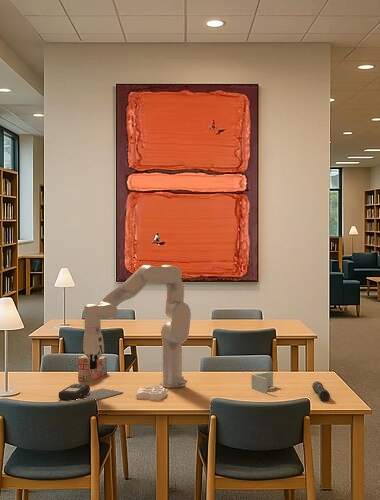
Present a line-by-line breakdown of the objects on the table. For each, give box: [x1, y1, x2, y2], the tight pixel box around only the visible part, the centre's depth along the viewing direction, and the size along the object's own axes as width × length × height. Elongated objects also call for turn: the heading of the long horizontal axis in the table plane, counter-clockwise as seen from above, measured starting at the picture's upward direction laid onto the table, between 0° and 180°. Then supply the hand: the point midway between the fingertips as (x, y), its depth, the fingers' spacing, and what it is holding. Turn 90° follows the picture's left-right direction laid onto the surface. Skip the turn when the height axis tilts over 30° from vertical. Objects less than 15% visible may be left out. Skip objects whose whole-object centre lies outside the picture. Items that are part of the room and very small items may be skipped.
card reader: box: [58, 383, 91, 401], centre depth 347 cm, size 9×4×15 cm
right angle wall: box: [250, 371, 276, 394], centre depth 360 cm, size 12×12×8 cm
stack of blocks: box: [77, 354, 108, 383], centre depth 391 cm, size 21×6×12 cm, turn 161°
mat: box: [80, 388, 124, 402], centre depth 351 cm, size 14×18×1 cm
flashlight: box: [311, 381, 331, 402], centre depth 347 cm, size 5×22×5 cm, turn 0°
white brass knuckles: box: [135, 384, 169, 401], centre depth 349 cm, size 3×18×15 cm
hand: (93, 368), depth 353 cm, fingers closed
